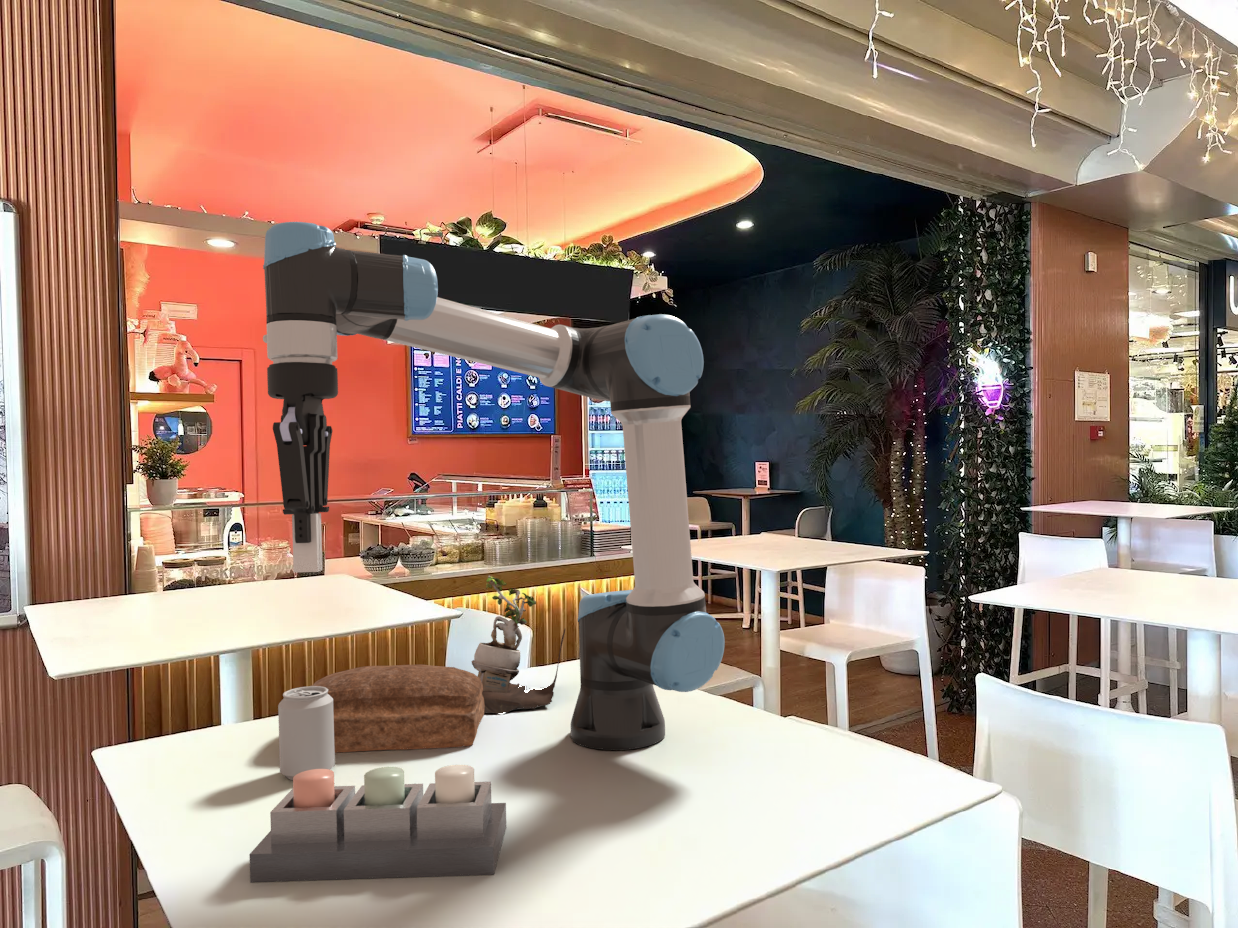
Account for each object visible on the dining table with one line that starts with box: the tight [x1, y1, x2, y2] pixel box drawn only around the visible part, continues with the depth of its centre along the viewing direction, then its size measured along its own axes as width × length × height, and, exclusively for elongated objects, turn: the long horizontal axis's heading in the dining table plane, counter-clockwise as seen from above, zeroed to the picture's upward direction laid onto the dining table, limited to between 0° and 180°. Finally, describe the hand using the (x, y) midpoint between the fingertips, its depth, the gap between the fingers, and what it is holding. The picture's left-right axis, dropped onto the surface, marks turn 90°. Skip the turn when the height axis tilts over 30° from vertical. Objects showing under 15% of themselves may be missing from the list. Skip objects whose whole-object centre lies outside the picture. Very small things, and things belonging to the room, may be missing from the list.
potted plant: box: [471, 575, 566, 714], centre depth 165 cm, size 20×19×25 cm
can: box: [277, 685, 336, 781], centre depth 127 cm, size 8×8×12 cm
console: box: [248, 781, 507, 883], centre depth 100 cm, size 26×12×6 cm, turn 91°
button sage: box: [363, 766, 405, 806], centre depth 100 cm, size 4×4×4 cm
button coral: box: [292, 769, 335, 808], centre depth 100 cm, size 4×4×4 cm
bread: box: [311, 664, 485, 753], centre depth 143 cm, size 17×29×11 cm, turn 93°
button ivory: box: [434, 764, 475, 804], centre depth 100 cm, size 4×4×4 cm
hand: (308, 570), depth 100 cm, fingers closed
